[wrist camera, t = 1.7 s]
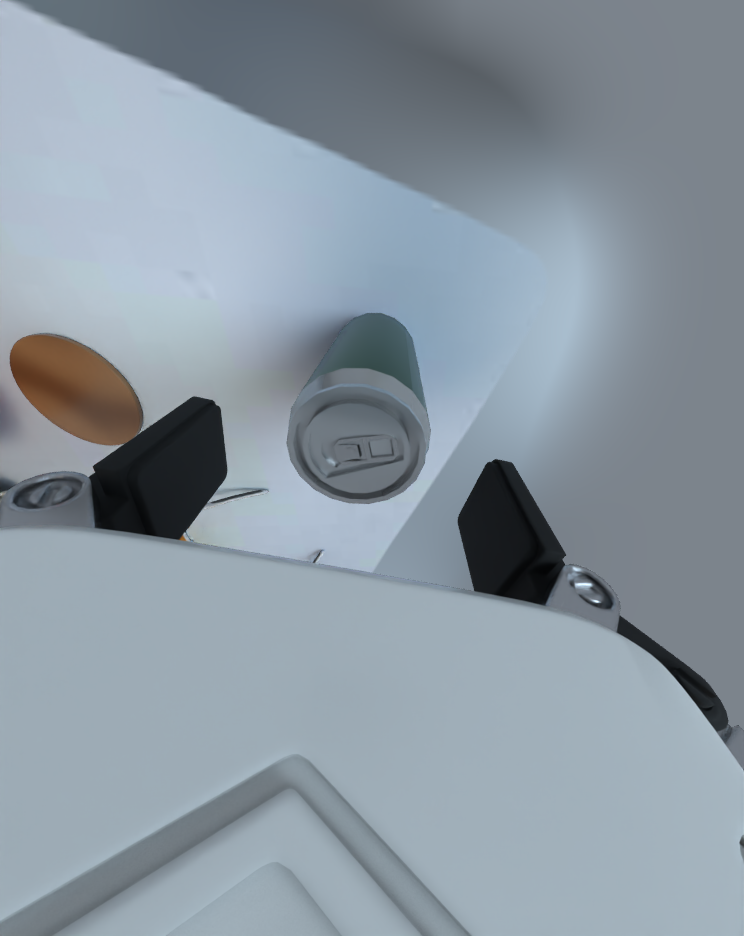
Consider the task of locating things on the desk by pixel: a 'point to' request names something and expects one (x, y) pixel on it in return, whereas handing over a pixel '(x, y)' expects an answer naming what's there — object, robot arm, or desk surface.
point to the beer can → (362, 415)
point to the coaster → (76, 389)
